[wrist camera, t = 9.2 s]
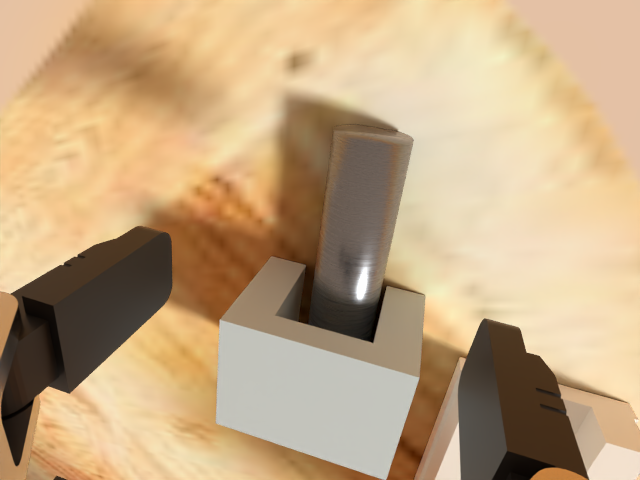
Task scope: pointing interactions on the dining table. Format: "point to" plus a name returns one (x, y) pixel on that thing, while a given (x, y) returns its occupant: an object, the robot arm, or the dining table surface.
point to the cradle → (587, 423)
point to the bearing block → (317, 373)
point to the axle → (357, 226)
